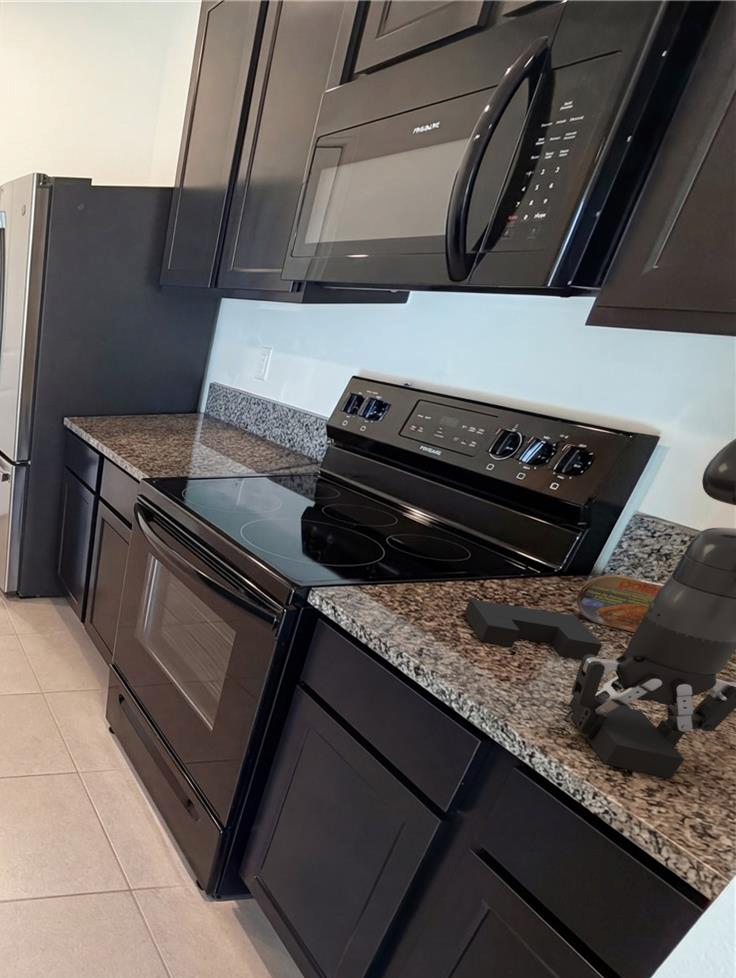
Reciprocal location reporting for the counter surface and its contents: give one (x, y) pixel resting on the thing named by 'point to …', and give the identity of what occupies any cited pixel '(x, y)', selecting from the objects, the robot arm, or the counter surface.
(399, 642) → the counter surface
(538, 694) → the counter surface
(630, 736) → the pad
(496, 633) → the notch pad
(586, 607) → the tin
